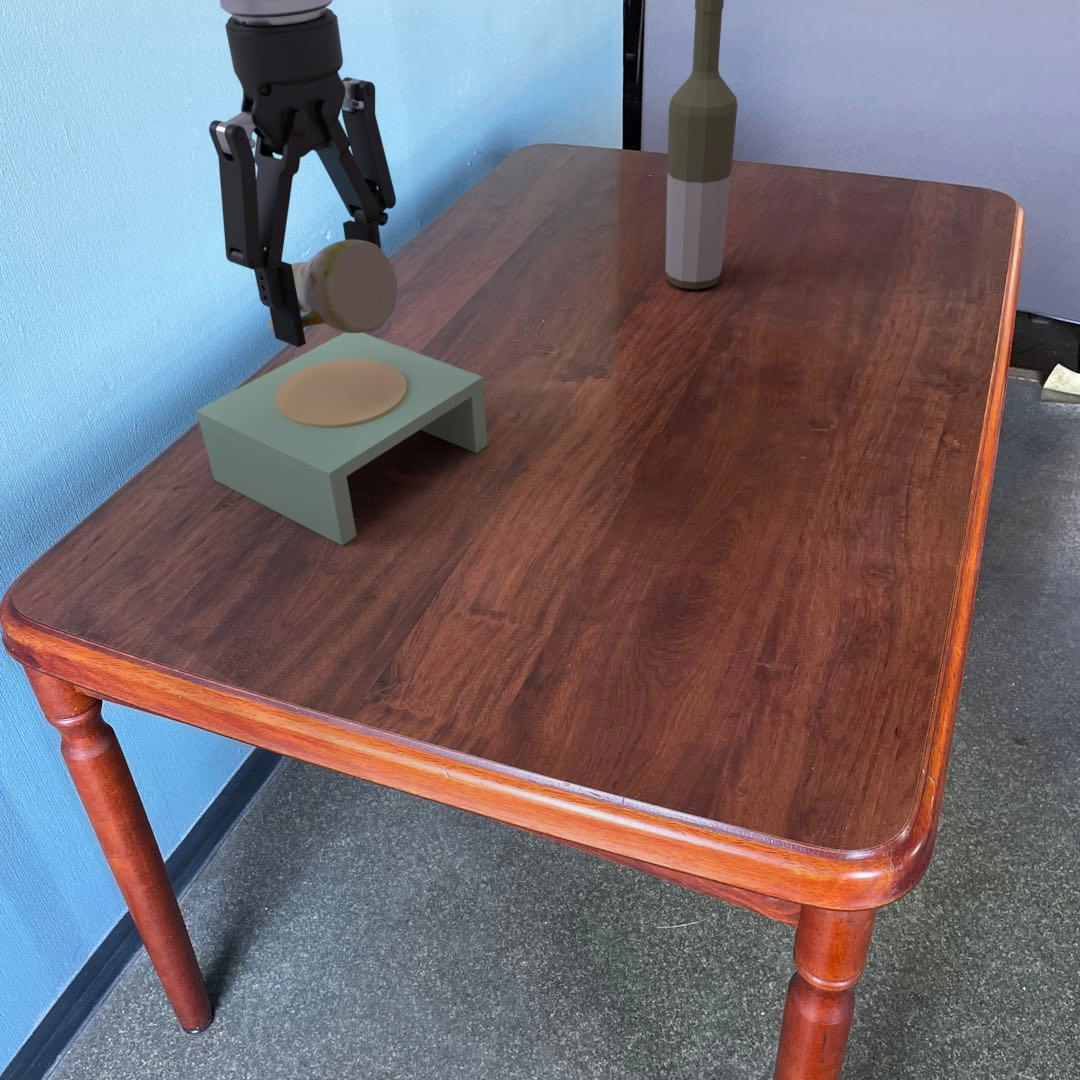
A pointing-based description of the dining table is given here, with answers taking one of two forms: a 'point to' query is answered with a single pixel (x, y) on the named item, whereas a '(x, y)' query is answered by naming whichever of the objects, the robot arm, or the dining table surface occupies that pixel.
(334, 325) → the mug
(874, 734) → the dining table surface
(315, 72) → the robot arm
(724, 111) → the bottle
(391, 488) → the dining table surface
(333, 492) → the shelf
